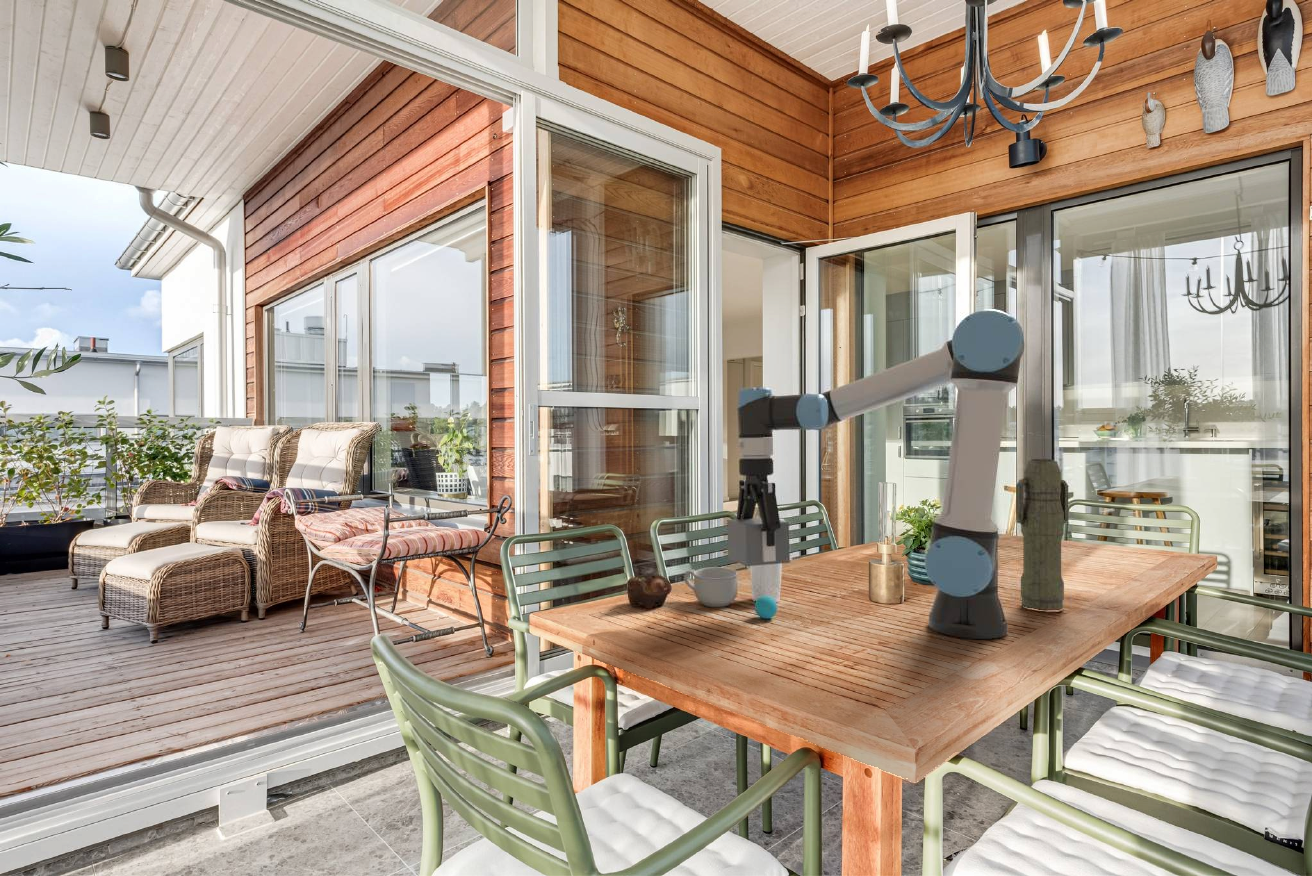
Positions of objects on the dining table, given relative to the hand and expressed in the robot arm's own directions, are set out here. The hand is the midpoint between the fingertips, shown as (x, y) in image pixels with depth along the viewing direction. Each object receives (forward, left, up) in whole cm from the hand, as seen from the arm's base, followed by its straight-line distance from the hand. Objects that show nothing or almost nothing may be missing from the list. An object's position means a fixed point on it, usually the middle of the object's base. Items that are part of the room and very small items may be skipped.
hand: (758, 557), depth 158 cm
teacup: (+18, +5, -14) cm, 23 cm away
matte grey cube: (0, 0, -1) cm, 1 cm away
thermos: (-9, -68, -14) cm, 70 cm away
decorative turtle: (+20, +20, -14) cm, 31 cm away
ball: (+1, -2, -11) cm, 12 cm away
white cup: (+16, -9, -14) cm, 23 cm away
